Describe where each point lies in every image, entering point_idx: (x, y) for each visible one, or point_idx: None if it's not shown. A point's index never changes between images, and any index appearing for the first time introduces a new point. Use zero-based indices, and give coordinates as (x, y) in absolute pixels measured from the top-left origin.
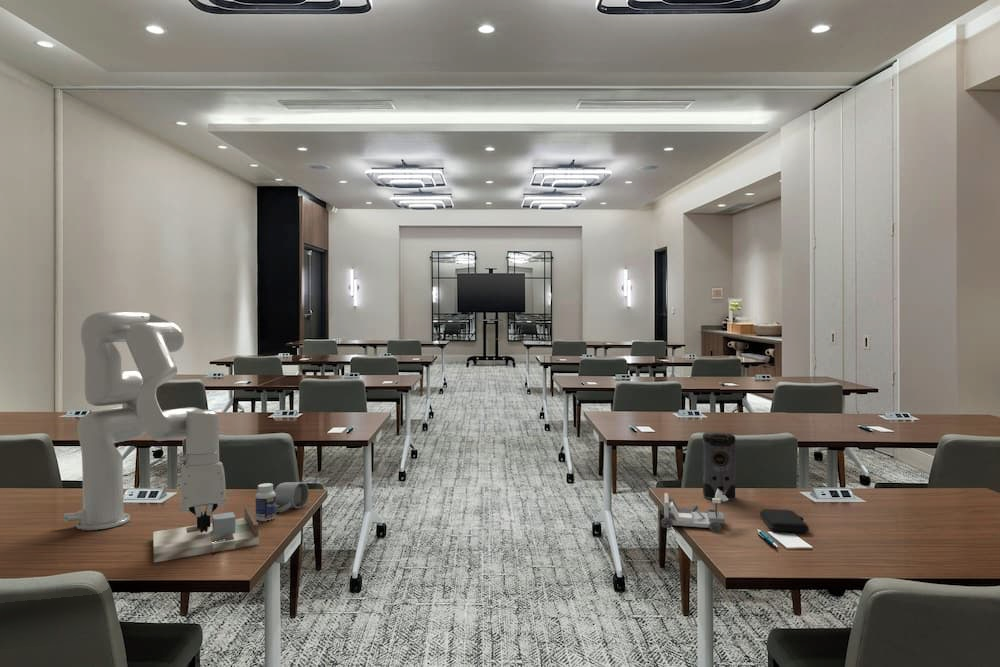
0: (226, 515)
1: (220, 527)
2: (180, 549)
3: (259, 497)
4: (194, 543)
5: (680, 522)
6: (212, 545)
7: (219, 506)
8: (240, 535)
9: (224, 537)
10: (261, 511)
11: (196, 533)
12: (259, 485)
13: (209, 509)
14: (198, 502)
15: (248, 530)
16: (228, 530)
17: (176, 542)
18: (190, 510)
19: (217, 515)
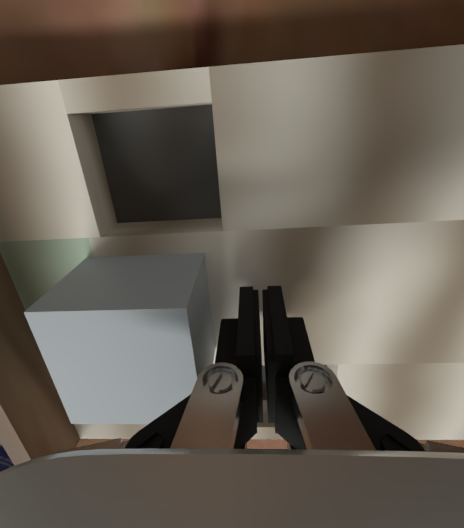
0: (102, 373)
1: (155, 275)
2: (439, 48)
3: None
4: (326, 153)
5: None
6: (211, 67)
7: (114, 441)
8: (43, 183)
9: (148, 230)
10: (2, 461)
11: None
12: None
13: (211, 412)
14: (375, 503)
15: (14, 257)
16: (117, 265)
17: (421, 233)
18: (405, 439)
19: (167, 398)
